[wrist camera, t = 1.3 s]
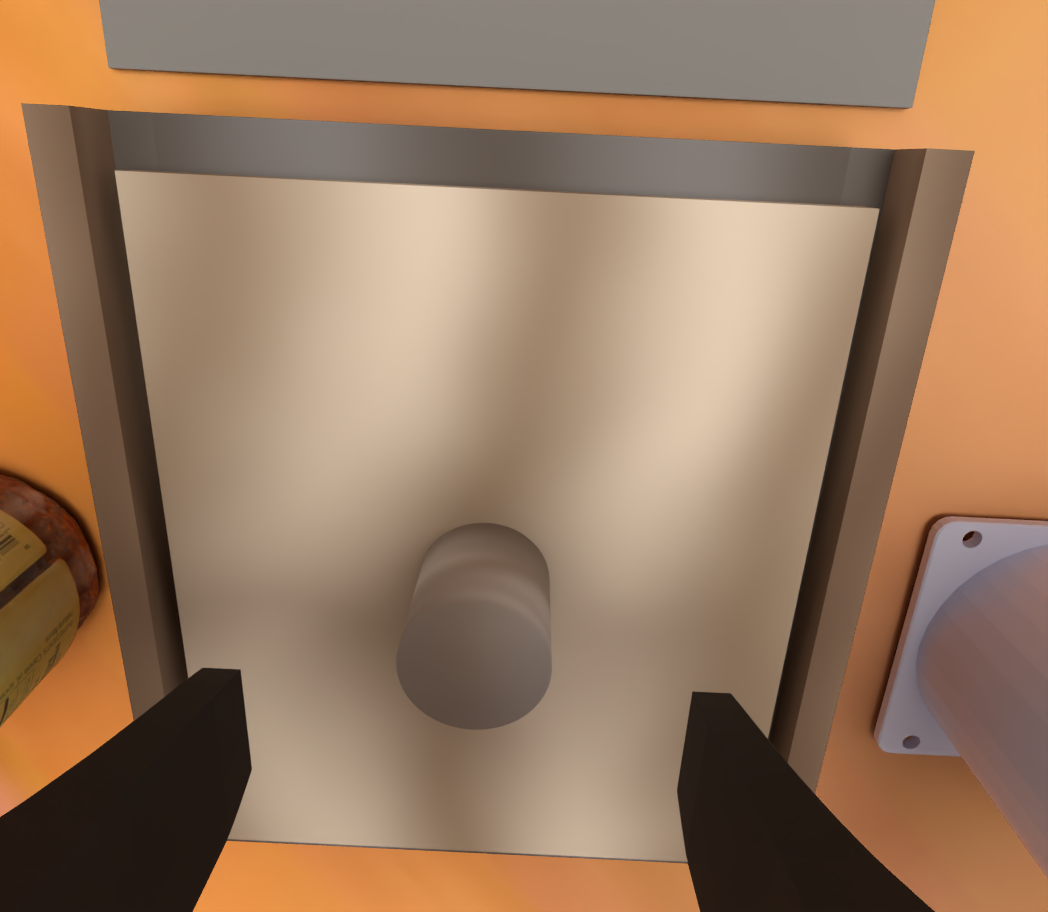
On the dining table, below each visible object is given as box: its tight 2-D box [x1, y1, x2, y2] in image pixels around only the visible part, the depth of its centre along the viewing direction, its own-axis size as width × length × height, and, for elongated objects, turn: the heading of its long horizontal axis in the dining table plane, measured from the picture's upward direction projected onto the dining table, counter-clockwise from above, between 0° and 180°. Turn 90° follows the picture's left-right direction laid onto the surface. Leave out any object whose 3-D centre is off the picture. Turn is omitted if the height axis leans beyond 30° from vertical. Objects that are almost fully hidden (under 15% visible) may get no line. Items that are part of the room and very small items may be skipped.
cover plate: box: [115, 170, 880, 862], centre depth 15 cm, size 14×16×4 cm
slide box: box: [21, 103, 974, 863], centre depth 18 cm, size 16×18×5 cm
